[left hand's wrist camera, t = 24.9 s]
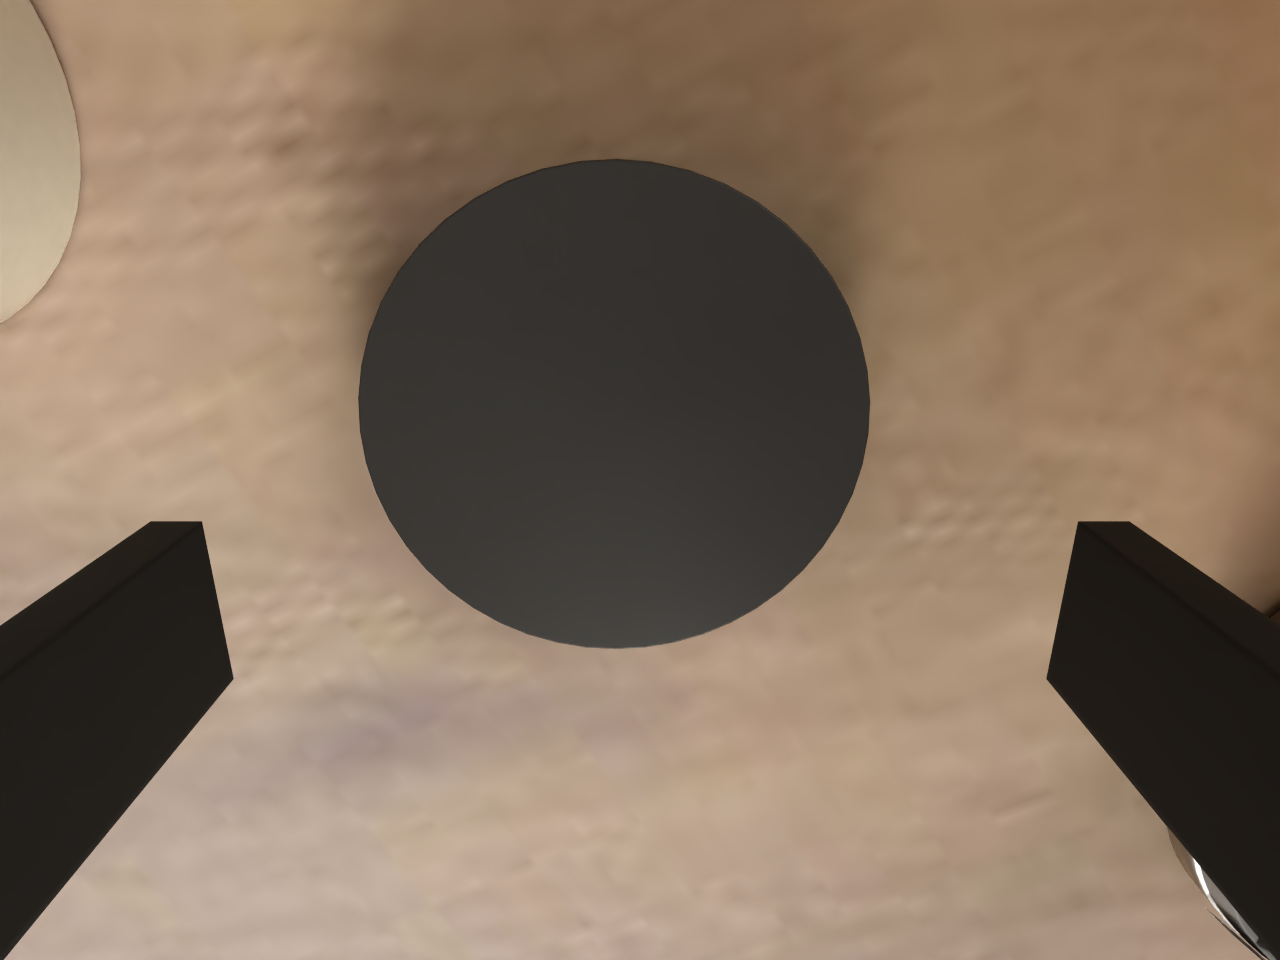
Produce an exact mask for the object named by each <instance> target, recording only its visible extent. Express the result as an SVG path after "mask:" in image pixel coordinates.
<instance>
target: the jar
mask: <svg viewBox="0 0 1280 960" xmlns="http://www.w3.org/2000/svg"><path fill="white" fill-rule="evenodd" d="M80 183H81V159H80V142H79V135H78V129H77V122H76V116H75V110H74V107H73V103H72V99H71V96H70V92H69V88H68V85H67V81H66V78H65V75H64V72H63V70H62V67H61V65H60V62H59V60H58V57H57V55H56V52H55V49H54V47H53V44H52V42H51V40H50V38H49V36H48V34H47V32H46V30H45V28H44V26H43V24H42V23H41V21H40V19H39V17H38V15H37V13H36V11H35V9H34V7H33V5H32V4H31V2H30V1H29V0H0V323H2V322H4V321H5V320H7V319H8V318H10V317H11V316H12V315H14V314H15V313H16V312H17V311H19V310H20V309H21V308H23V307H24V306H25V305H27V304H28V303H29V301H30V300H31V299H32V298H33V297H34V296H35V295H36V294H37V293H38V292H39V291H40V289H41V288H42V287H43V286H44V285H45V284H46V282H47V281H48V279H49V277H50V276H51V274H52V273H53V271H54V270H55V268H56V267H57V265H58V263H59V262H60V260H61V257H62V255H63V253H64V250H65V248H66V246H67V244H68V241H69V239H70V237H71V233H72V229H73V225H74V221H75V217H76V213H77V210H78V202H79V193H80Z"/></svg>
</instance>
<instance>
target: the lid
mask: <svg viewBox="0 0 1280 960" xmlns="http://www.w3.org/2000/svg"><path fill="white" fill-rule="evenodd" d="M358 400H359V420H360V433H361V438H362V444H363V449H364V454H365V459H366V464H367V467H368V470H369V473H370V476H371V479H372V482H373V485H374V488H375V491H376V493H377V495H378V497H379V499H380V501H381V503H382V506H383V508H384V510H385V512H386V514H387V516H388V518H389V520H390V522H391V523H392V525H393V526H394V528H395V529H396V531H397V532H398V534H399V535H400V537H401V538H402V540H403V541H404V543H405V544H406V546H407V547H408V548H409V550H410V551H411V552H412V553H413V554H414V555H415V557H416V558H417V559H418V560H419V561H420V563H421V564H422V565H423V566H424V567H425V568H426V570H428V571H429V572H430V573H431V574H432V575H433V576H434V577H435V578H436V579H437V580H438V581H439V582H441V583H442V584H443V585H444V586H445V587H446V588H447V589H448V590H449V591H451V592H452V593H453V594H455V595H456V596H458V597H459V598H460V599H462V600H463V601H465V602H466V603H467V604H469V605H470V606H471V607H473V608H474V609H476V610H478V611H480V612H482V613H483V614H485V615H487V616H489V617H491V618H492V619H494V620H496V621H498V622H500V623H502V624H504V625H507V626H509V627H512V628H514V629H516V630H519V631H521V632H524V633H526V634H529V635H532V636H536V637H539V638H543V639H546V640H550V641H553V642H557V643H563V644H569V645H575V646H581V647H589V648H607V649H624V648H642V647H650V646H656V645H662V644H668V643H674V642H678V641H681V640H685V639H688V638H691V637H695V636H698V635H702V634H705V633H707V632H710V631H712V630H714V629H717V628H719V627H722V626H724V625H726V624H729V623H731V622H733V621H735V620H736V619H738V618H740V617H742V616H744V615H745V614H747V613H749V612H751V611H753V610H754V609H756V608H758V607H759V606H760V605H762V604H763V603H765V602H766V601H767V600H769V599H770V598H771V597H773V596H774V595H776V594H777V593H778V592H780V591H781V590H782V589H783V588H784V587H785V586H786V585H788V584H789V583H790V582H791V581H792V580H793V579H794V578H795V577H796V576H797V575H798V574H800V573H801V572H802V571H803V570H804V568H805V567H806V566H807V565H808V564H809V563H810V561H811V560H812V559H813V558H814V557H815V556H816V554H817V553H818V552H819V551H820V550H821V548H822V547H823V546H824V544H825V543H826V541H827V540H828V538H829V537H830V535H831V533H832V532H833V530H834V529H835V527H836V526H837V524H838V523H839V521H840V519H841V517H842V515H843V513H844V511H845V509H846V507H847V505H848V502H849V500H850V498H851V496H852V494H853V491H854V488H855V485H856V482H857V479H858V476H859V473H860V470H861V467H862V464H863V459H864V454H865V448H866V443H867V438H868V430H869V412H870V396H869V384H868V371H867V366H866V362H865V357H864V353H863V348H862V344H861V339H860V336H859V333H858V331H857V328H856V325H855V323H854V320H853V317H852V315H851V312H850V310H849V307H848V305H847V303H846V301H845V299H844V298H843V296H842V294H841V292H840V290H839V288H838V287H837V285H836V283H835V281H834V279H833V278H832V276H831V275H830V273H829V272H828V271H827V269H826V268H825V267H824V265H823V264H822V263H821V261H820V260H819V259H818V257H817V256H816V255H815V253H814V252H813V251H812V249H811V248H810V247H809V246H808V245H807V244H806V243H805V242H804V241H803V240H802V239H801V238H800V237H799V236H798V235H797V234H796V233H795V232H794V231H793V230H792V229H791V228H790V227H789V226H788V225H787V224H786V223H785V222H783V221H782V220H781V219H779V218H778V217H777V216H775V215H774V214H773V213H771V212H770V211H769V210H768V209H766V208H765V207H764V206H762V205H761V204H760V203H758V202H757V201H755V200H753V199H751V198H750V197H748V196H746V195H744V194H742V193H741V192H739V191H737V190H735V189H733V188H732V187H730V186H728V185H726V184H724V183H721V182H719V181H716V180H713V179H711V178H708V177H706V176H703V175H700V174H698V173H695V172H693V171H689V170H685V169H681V168H676V167H672V166H668V165H663V164H659V163H654V162H648V161H636V160H624V159H607V160H589V161H578V162H573V163H568V164H563V165H558V166H553V167H548V168H543V169H540V170H537V171H535V172H532V173H529V174H526V175H523V176H520V177H517V178H515V179H512V180H509V181H507V182H505V183H503V184H501V185H499V186H497V187H495V188H493V189H491V190H489V191H487V192H485V193H484V194H482V195H480V196H478V197H476V198H474V199H473V200H471V201H470V202H469V203H467V204H466V205H464V206H463V207H462V208H460V209H459V210H458V211H456V212H455V213H453V214H452V215H451V216H449V217H448V218H446V219H445V220H444V221H443V222H442V223H441V224H440V225H439V226H438V227H437V228H436V229H435V230H434V231H433V232H432V233H431V234H430V235H429V236H428V237H426V238H425V239H424V240H423V241H422V242H421V243H420V244H419V246H418V247H417V248H416V249H415V251H414V252H413V253H412V255H411V256H410V257H409V258H408V260H407V261H406V262H405V264H404V265H403V266H402V268H401V269H400V270H399V271H398V273H397V275H396V277H395V278H394V280H393V282H392V284H391V285H390V287H389V289H388V291H387V292H386V294H385V296H384V298H383V300H382V301H381V304H380V306H379V309H378V311H377V314H376V316H375V319H374V322H373V324H372V327H371V329H370V332H369V335H368V339H367V344H366V348H365V352H364V356H363V361H362V365H361V375H360V386H359V397H358Z"/></svg>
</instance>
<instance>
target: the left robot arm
mask: <svg viewBox="0 0 1280 960" xmlns="http://www.w3.org/2000/svg"><path fill="white" fill-rule="evenodd" d="M232 680H233V674H232V669H231V664H230V659H229V654H228V649H227V644H226V639H225V634H224V629H223V624H222V619H221V614H220V609H219V604H218V599H217V594H216V589H215V584H214V579H213V574H212V569H211V564H210V559H209V554H208V550H207V545H206V540H205V535H204V530H203V525H202V521H151V522H149V523H148V524H146V525H145V526H143V527H142V528H141V529H139V530H138V531H136V532H135V533H133V534H132V535H131V536H129V537H128V538H126V539H125V540H123V541H122V542H120V543H119V544H118V545H116V546H115V547H113V548H112V549H110V550H109V551H107V552H106V553H105V554H103V555H102V556H100V557H99V558H97V559H96V560H94V561H93V562H92V563H90V564H89V565H87V566H86V567H84V568H83V569H81V570H80V571H79V572H77V573H76V574H74V575H73V576H71V577H70V578H68V579H67V580H66V581H64V582H63V583H61V584H60V585H58V586H57V587H55V588H54V589H53V590H51V591H50V592H48V593H47V594H45V595H44V596H42V597H41V598H40V599H38V600H37V601H35V602H34V603H32V604H31V605H30V606H28V607H27V608H25V609H24V610H22V611H21V612H19V613H18V614H17V615H15V616H14V617H12V618H11V619H9V620H8V621H6V622H5V623H4V624H2V625H1V626H0V960H4V959H5V957H6V956H7V955H8V954H9V952H10V951H11V950H12V949H13V948H14V946H15V945H16V944H17V943H18V942H19V940H20V939H21V938H22V937H23V935H24V934H25V933H26V932H27V931H28V929H29V928H30V927H31V926H32V924H33V923H34V922H35V921H36V920H37V918H38V917H39V916H40V915H41V913H42V912H43V911H44V910H45V909H46V907H47V906H48V905H49V904H50V902H51V901H52V900H53V899H54V898H55V896H56V895H57V894H58V893H59V891H60V890H61V889H62V888H63V887H64V885H65V884H66V883H67V882H68V880H69V879H70V878H71V877H72V876H73V874H74V873H75V872H76V871H77V869H78V868H79V867H80V866H81V865H82V863H83V862H84V861H85V860H86V858H87V857H88V856H89V855H90V854H91V852H92V851H93V850H94V849H95V847H96V846H97V845H98V844H99V843H100V841H101V840H102V839H103V838H104V836H105V835H106V834H107V833H108V832H109V830H110V829H111V828H112V827H113V825H114V824H115V823H116V822H117V821H118V819H119V818H120V817H121V816H122V814H123V813H124V812H125V811H126V810H127V808H128V807H129V806H130V805H131V803H132V802H133V801H134V800H135V799H136V797H137V796H138V795H139V794H140V792H141V791H142V790H143V789H144V788H145V786H146V785H147V784H148V783H149V781H150V780H151V779H152V778H153V777H154V775H155V774H156V773H157V772H158V771H159V769H160V768H161V767H162V766H163V764H164V763H165V762H166V761H167V760H168V758H169V757H170V756H171V755H172V753H173V752H174V751H175V750H176V749H177V747H178V746H179V745H180V744H181V742H182V741H183V740H184V739H185V738H186V736H187V735H188V734H189V733H190V731H191V730H192V729H193V728H194V727H195V725H196V724H197V723H198V722H199V720H200V719H201V718H202V717H203V716H204V714H205V713H206V712H207V711H208V709H209V708H210V707H211V706H212V705H213V703H214V702H215V701H216V700H217V698H218V697H219V696H220V695H221V694H222V692H223V691H224V690H225V689H226V687H227V686H228V685H229V684H230V683H231V681H232ZM1047 680H1048V681H1049V683H1050V684H1051V685H1052V686H1053V687H1054V689H1055V690H1056V691H1057V692H1058V694H1059V695H1060V696H1061V697H1062V698H1063V700H1064V701H1065V702H1066V703H1067V705H1068V706H1069V707H1070V708H1071V709H1072V711H1073V712H1074V713H1075V714H1076V716H1077V717H1078V718H1079V719H1080V720H1081V722H1082V723H1083V724H1084V725H1085V727H1086V728H1087V729H1088V730H1089V731H1090V733H1091V734H1092V735H1093V736H1094V738H1095V739H1096V740H1097V741H1098V742H1099V744H1100V745H1101V746H1102V747H1103V749H1104V750H1105V751H1106V752H1107V753H1108V755H1109V756H1110V757H1111V758H1112V760H1113V761H1114V762H1115V763H1116V764H1117V766H1118V767H1119V768H1120V769H1121V770H1122V772H1123V773H1124V774H1125V775H1126V777H1127V778H1128V779H1129V780H1130V781H1131V783H1132V784H1133V785H1134V786H1135V788H1136V789H1137V790H1138V791H1139V792H1140V794H1141V795H1142V796H1143V797H1144V799H1145V800H1146V801H1147V802H1148V803H1149V805H1150V806H1151V807H1152V808H1153V810H1154V811H1155V812H1156V813H1157V814H1158V816H1159V817H1160V818H1161V819H1162V821H1163V822H1164V823H1165V824H1166V825H1167V827H1168V832H1169V836H1170V840H1171V842H1172V845H1173V848H1174V850H1175V853H1176V855H1177V857H1178V859H1179V860H1180V862H1181V864H1182V866H1183V867H1184V869H1185V871H1186V872H1187V873H1188V874H1189V876H1190V877H1191V878H1192V879H1193V881H1194V882H1195V883H1196V885H1197V886H1198V887H1199V888H1200V890H1201V891H1202V892H1203V893H1204V895H1205V896H1206V897H1207V899H1208V900H1209V901H1210V902H1211V904H1212V905H1213V906H1214V907H1215V909H1216V910H1217V911H1218V913H1219V914H1220V915H1221V916H1222V918H1223V919H1224V920H1225V921H1226V922H1227V923H1228V924H1229V925H1230V926H1231V927H1232V928H1233V929H1234V930H1235V931H1236V932H1237V933H1238V934H1240V935H1241V936H1242V937H1243V938H1244V939H1245V940H1246V941H1247V942H1248V943H1249V944H1250V945H1251V946H1252V947H1254V948H1255V949H1256V950H1257V951H1258V952H1259V953H1260V954H1261V955H1263V956H1264V957H1266V958H1267V959H1268V960H1280V610H1279V611H1278V612H1277V613H1275V614H1274V615H1273V616H1272V617H1270V618H1268V617H1266V616H1265V615H1263V614H1262V613H1261V612H1259V611H1258V610H1256V609H1255V608H1253V607H1252V606H1250V605H1249V604H1248V603H1246V602H1245V601H1243V600H1242V599H1240V598H1239V597H1238V596H1236V595H1235V594H1233V593H1232V592H1230V591H1229V590H1227V589H1226V588H1225V587H1223V586H1222V585H1220V584H1219V583H1217V582H1216V581H1214V580H1213V579H1212V578H1210V577H1209V576H1207V575H1206V574H1204V573H1203V572H1201V571H1200V570H1199V569H1197V568H1196V567H1194V566H1193V565H1191V564H1190V563H1188V562H1187V561H1186V560H1184V559H1183V558H1181V557H1180V556H1178V555H1177V554H1175V553H1174V552H1173V551H1171V550H1170V549H1168V548H1167V547H1165V546H1164V545H1162V544H1161V543H1160V542H1158V541H1157V540H1155V539H1154V538H1152V537H1151V536H1149V535H1148V534H1147V533H1145V532H1144V531H1142V530H1141V529H1139V528H1138V527H1137V526H1135V525H1134V524H1132V523H1131V522H1129V521H1078V525H1077V530H1076V535H1075V540H1074V545H1073V550H1072V555H1071V559H1070V564H1069V569H1068V574H1067V579H1066V584H1065V589H1064V594H1063V599H1062V604H1061V609H1060V614H1059V619H1058V624H1057V629H1056V634H1055V639H1054V644H1053V649H1052V654H1051V659H1050V664H1049V669H1048V674H1047ZM1206 909H1207V908H1206ZM1207 910H1208V909H1207ZM1208 911H1209V910H1208ZM1209 912H1210V911H1209ZM1210 913H1211V912H1210ZM1211 914H1212V913H1211ZM1212 915H1213V914H1212ZM1213 916H1214V917H1215V918H1216V919H1217V920H1218V921H1219V922H1220V923H1221V924H1222V925H1224V926H1225V927H1226V928H1227V929H1228V930H1229V931H1230V932H1231V933H1232V934H1233V935H1234V936H1235V937H1236V938H1237V939H1238V940H1239V941H1241V942H1242V943H1243V944H1244V945H1245V946H1246V947H1247V948H1249V949H1250V950H1251V951H1252V952H1253V953H1254V954H1256V955H1257V956H1258V957H1259V958H1260V959H1261V960H1265V959H1264V958H1263V957H1262V956H1260V955H1259V954H1258V953H1257V952H1256V951H1255V950H1254V949H1252V948H1251V947H1250V946H1249V945H1248V944H1247V943H1245V942H1244V941H1243V940H1242V939H1241V938H1240V937H1239V936H1237V935H1236V934H1235V933H1234V932H1233V931H1232V930H1231V929H1229V928H1228V927H1227V926H1226V925H1225V924H1224V923H1223V922H1221V921H1220V920H1219V919H1218V918H1217V917H1216V916H1215V915H1213Z"/></svg>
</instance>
